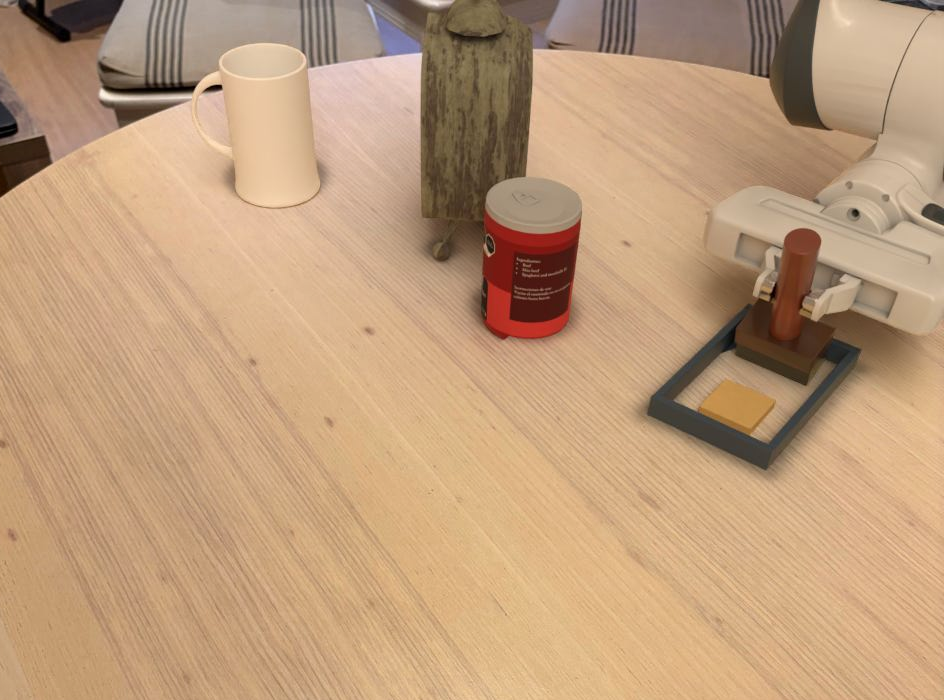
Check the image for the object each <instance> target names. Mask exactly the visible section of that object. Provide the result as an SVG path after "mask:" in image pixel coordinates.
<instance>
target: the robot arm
mask: <svg viewBox="0 0 944 700" xmlns="http://www.w3.org/2000/svg"><path fill="white" fill-rule="evenodd" d="M768 82H769V87H770V89H771V92H772V95H773V99H774V100H775V102H776V104H777V106H778V108H779V110H780V112H781V113H782V115H783V116H784V117H785V119H786V121H787V122H788V123H789V124H790V125H791V126H795V127H800V128H807V129H814V130H821V131H828V132H831V131H837V132H841V133H845V134H848V135H852V136H858V137H860V138H863V139H864V138H865V139H869V140H873V141H876V142H874V143H873V144H872V145H871V146H869V148H867V149H866V150H865V151H864V152H863V153H861V155H860V156H859V157H858V158H857V159H856V160H855V162H854V163H853V164H851V165H849V166H848V167H847V168H845V169H844V170H842V171H841V173H839V174H838V175H837V176H836V177H835V178H834V179H832V181H831V182H830V183H828V185H826V186H825V187H824V188H823V189H822V190H820V192H819V193H817V195H816V196H815V197H813V199H812V200H808V199H806V198H803V197H800V196H798V195H794V194H792V193H789V192H787V191H783V190H780V189H778V188H775V187H772V186H767V185H761V184H759V185H750V186H747V187H745V188H742V189H740V190H738V191H736V192H734V193H733V194H730V195H729V196H727V197H725V198H724V199H722V200H721V201H719V202H718V203H716V204H715V205H714V206H712V208H711V209H710V210H709V212H708V215H707V218H706V222H705V226H704V230H703V236H702V244H703V248H704V250H705V252H706V253H707V254H709V255H710V256H713V257H716V258H719V259H720V260H723V261H726V262H729V263H730V264H733V265H736V266H739V267H741V268H744V269H746V270H749V271H751V272H753V273H756V274H758V276H757V278H756V281H755V284H754V286H753V290H752V297H753V298H756V299H761V300H764V301H766V302H769V303H770V302H773V300H774V295H775V289H776V284H777V278H778V272H779V267H780V261H781V255H782V250H783V244H784V239H785V237H786V235H787V234H788V233H789V232H791V231H792V230H795V229H798V228H808V229H811V230H814V231H816V232H817V233H818V234H819V235H820V237H821V247H820V251H819V256H818V260H817V265H816V270H815V274H814V279H813V283H812V288H811V291H810V293H807V294H806V296H805V298H804V300H803V302H802V306H803V307H802V308H801V309H800V312H799V315H802V316H804V317H806V318H808V319H811V320H813V321H815V322H817V321H818V322H819V320H820V319H821V318H823V316H824V315H829V314H836V313H842V312H846V311H848V310H849V311H851V312H855V313H857V314H859V315H862V316H864V317H868V318H870V319H873V320H874V321H876V322H880V323H883V324H885V325H887V326H890V327H892V328H895V329H897V330H900V331H903V332H906V333H908V334H910V335H912V336H916V337H918V336H920V337H921V336H928V335H931V334H933V333H934V332H935V331H936V330H937V328H938V327H939V325H940V323H941V321H942V319H943V317H944V11H943V10H937V9H936V10H930V9H924V8H919V7H913V6H909V5H904V4H898V3H892V2H888V1H884V0H883V1H882V0H797V2H796V4H795V6H794V9H793V10H792V13H791V15H790V17H789V19H788V21H787V23H786V25H785V28H784V29H783V31H782V34H781V36H780V39H779V41H778V44H777V46H776V49H775V52H774V55H773V58H772V61H771V66H770V71H769V81H768Z"/></svg>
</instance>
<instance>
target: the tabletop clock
mask: <svg viewBox="0 0 944 700" xmlns="http://www.w3.org/2000/svg"><path fill="white" fill-rule="evenodd" d="M533 35H534V34H533V28H531V27H530V26H528V25H527V24H525V22H522V21H520V20H519V19H518V18H516V17H515V16H513V15H507V14H505V12H504V10H503V8H502V6H501V5H500V3H499V2H498V1H497V0H454V1H453V2H452V3H451V4H450V6H449V7H448V9H447V11H446V12H440V11H439V12H438V11H436V12H435V11H428V12H427V18H426V23H425V28H424V37H423V44H422V53H421V65H420V205H421V206H420V210H421V219H435V220H436V219H437V220H448V222H447V226H446V228H445V232H444V235H443V238H442V241H438V242H436V243H435V245H434V246H433V248H432V253H433V255H434V256H433V257H434V258H436V260H439V261H444V260H446V259H448V258H449V256H450V255H451V248H450V245H449V242H450V240H451V238H452V236H453V234H454V232H455V230H456V228H457V227H458V226H459V224H460V223H461V222H462V221H480V222H484V216H485V203H486V196H487V193H488V191H489V190H490V189H491V188H492V187H493V186H494V185H496V184H498V183H500V182H502V181H505V180H508V179H513V178H519V177H527V168H528V167H527V166H528V154H529V153H528V152H529V140H530V128H531V127H530V126H531V115H532V113H531V112H532V98H533V97H532V96H533V83H534V82H533V80H534V42H533V41H534V38H533Z"/></svg>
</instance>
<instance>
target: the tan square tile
mask: <svg viewBox="0 0 944 700" xmlns="http://www.w3.org/2000/svg"><path fill="white" fill-rule="evenodd" d="M776 402H777V401H776V399H774V398H772V397H769V396H768V395H765V394H763V393H760V392H758V391H756V390H753V389H752V388H749V387H747V386H744V385H742V384H739V383H737V382H735V381H733V380H730V379H729V378H724V380H723V381H722V382H721V383H720V384H719V385H718V386H717V387H716V388H715V389H714V390H713V391H712V392H711V394H709V396H708V397H707V398H706V399H705V400H704V401H703V402H702V403H701V404H699V407H698V410H697V412H699V413H701V414H703V415H706V416H708V417H710V418H712V419H714V420H717V421H719V422H721V423H723V424H725V425H727V426H730V427H732V428H734V429H736V430H738V431H740V432H743V433H745V434H747V435H749V436H751V435H752V434H753V433H754V431H755V430H756V429H757V428H758V427H759V426H760V424H761V423H762V422H763V421H764V420H765V419H766V418H767V416H768V415H770V413H771V412H772V411H773V409H774V408H775V404H776Z"/></svg>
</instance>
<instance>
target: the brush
mask: <svg viewBox="0 0 944 700" xmlns="http://www.w3.org/2000/svg"><path fill="white" fill-rule="evenodd" d="M820 247H821V237H820V235H819V234H818V233H817V232H816V231H814V230H811V229H808V228H798V229H795V230H792V231H791V232H789V233H788V234H787V235H786V237H785V239H784V244H783V250H782V255H781V261H780V267H779V272H778V278H777V284H776V289H775V295H774V299H773V300H772V301H771V302H770V303H769V302H766V301H764V300H761V299H759V298H757V300H756V302H755V303H754V304H753V305H754V306H753V307H752V308H751V310H750V311H749V312H748V313H747V315H746V316H745V317H744V319H743V320H742V321H741V323H740V324H739V325H738V326H737V328H736V332H735V339H734V342H736V343H737V345H736V348H735V351H734V352H735V356H737V357H740V358H742V359H743V360H747V361H749V362H752V363H754V364H756V365H758V366H761V367H763V368H765V369H767V370H770V371H773V372H774V373H777V374H778V375H781V376H784V377H786V378H788V379H791V380H793V381H795V382H798V383H800V384H802V385H805V386H807V385H809V383H810V382H811V381H812V379H813V377H814V376H815V375H816V374H817V372H818V371H819V370H820V368H821V366H822V365H823V364H824V362H825V361H826V360H825V359H826V356H827V352H828V348H829V346H830V345H831V344H832V342H833V338H835V334H836V330H837V328H836V327H833V326H831V325H828V324H826V323H824V322H821V321H819V320H818V321H817V322H815V321H813V320H811V319H808V318H806V317H804V316H802V315H799V312H800V309H801V308H802V307H803V306H802V302H803V300H804V298H805V296H806V294H807V293H810V291H811V288H812V283H813V279H814V274H815V270H816V265H817V260H818V256H819V251H820Z"/></svg>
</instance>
